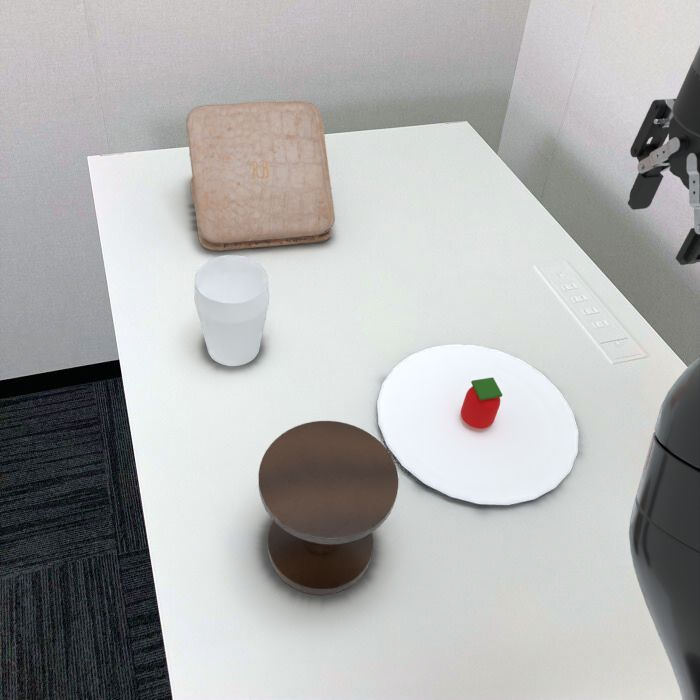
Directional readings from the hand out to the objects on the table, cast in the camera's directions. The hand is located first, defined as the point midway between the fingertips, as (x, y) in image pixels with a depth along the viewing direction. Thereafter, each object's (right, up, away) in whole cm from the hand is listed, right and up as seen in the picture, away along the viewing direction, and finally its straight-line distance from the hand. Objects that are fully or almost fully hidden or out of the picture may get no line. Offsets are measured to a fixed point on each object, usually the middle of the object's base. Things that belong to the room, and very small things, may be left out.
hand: (660, 233), depth 70 cm
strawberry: (-14, -19, +20) cm, 31 cm away
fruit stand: (-33, -32, +7) cm, 46 cm away
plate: (-14, -20, +21) cm, 32 cm away
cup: (-45, -11, +26) cm, 53 cm away
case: (-44, +11, +47) cm, 65 cm away
